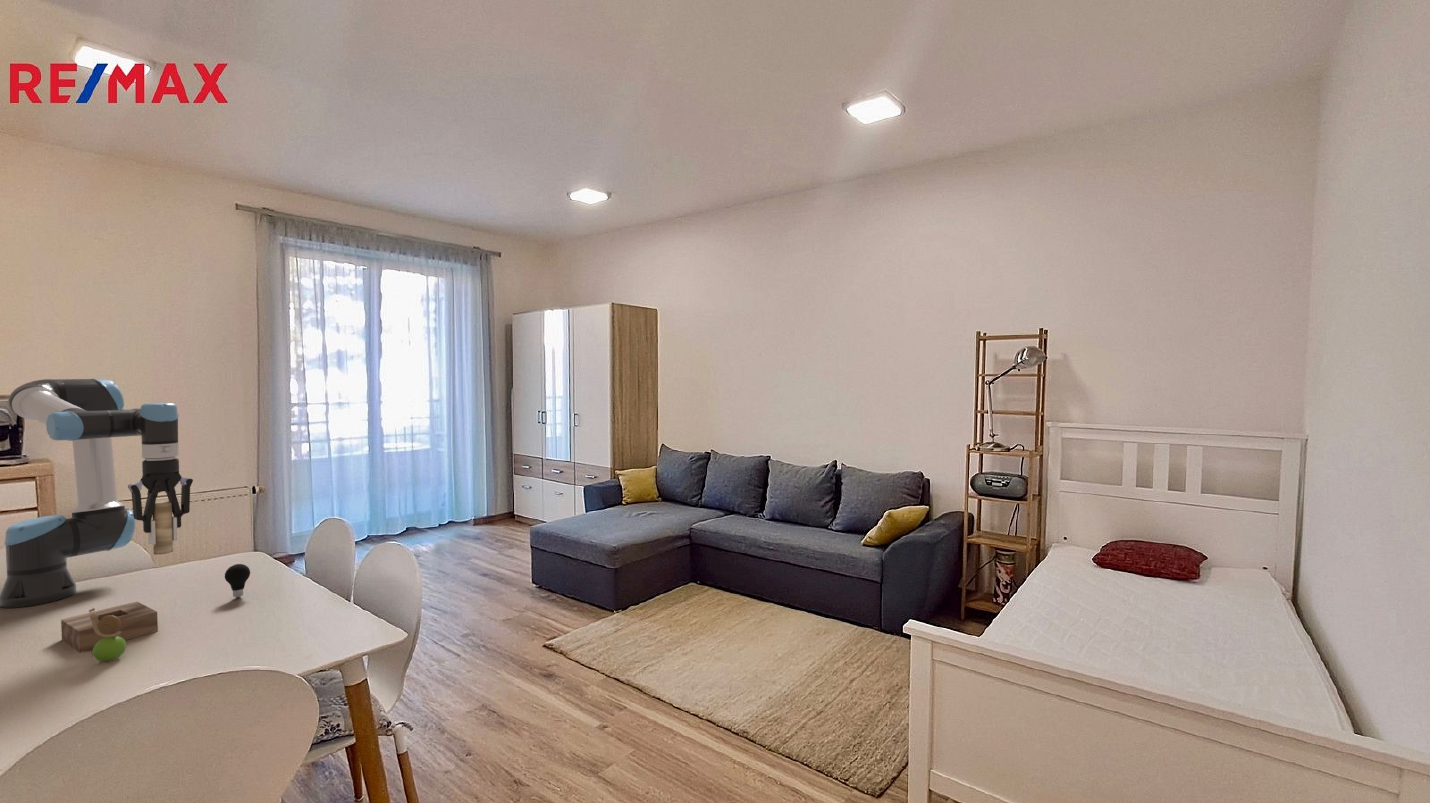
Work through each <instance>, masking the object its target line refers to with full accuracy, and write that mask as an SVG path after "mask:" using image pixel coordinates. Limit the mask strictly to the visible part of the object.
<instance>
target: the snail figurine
mask: <svg viewBox="0 0 1430 803" xmlns="http://www.w3.org/2000/svg"><path fill="white" fill-rule="evenodd" d="M95 610H96V609H95V608H94V607H92V609H88V613H90V615H91V612H95ZM90 619H91V621H92V626H93V629H94V631H95V633H96V634H97V635H99V636H101V637H104V638H103V639H101V640H100V641H98V642H97V643H96V644H95V646H94V648H93V649H92V656H93V657H94V659H96V660H97V661H99V662H111V661H113V660H116V659H117V658H119V657H120V656H122V655H123V654H124V652H125V651H126V648H127V642H126V640H124V639H123V638H122V637H119V636H118V635H120V633H121V632H117V631H118V630H119V629H120V627H121V621H120V619H119V618H118V617H116V616H114V615H108V616H105V617H103V618H102V619H101V620H100V622H99V620H98V614H94V613H93V614H92V615H91V616H90Z"/></svg>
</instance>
